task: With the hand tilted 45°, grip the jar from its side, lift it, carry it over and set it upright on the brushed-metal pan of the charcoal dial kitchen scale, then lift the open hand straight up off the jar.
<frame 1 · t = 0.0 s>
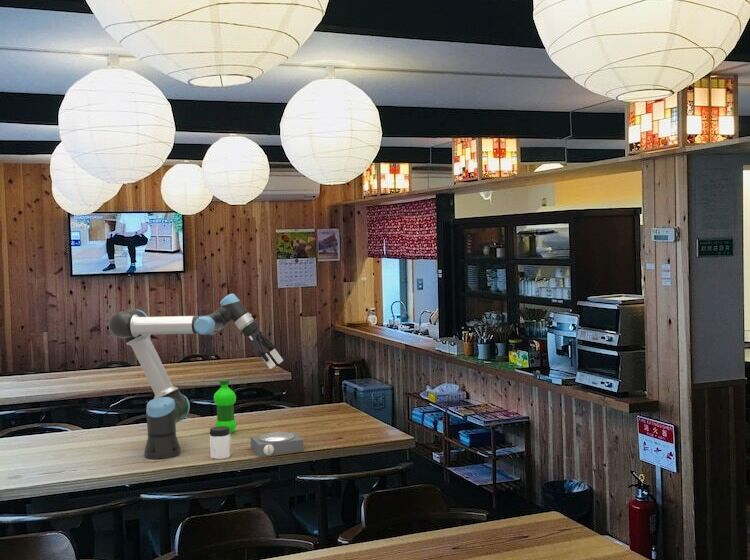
hand: (277, 364, 351), 36 cm above the table, tool tilted 35°, fingers open, 13 cm apart
plastic bottle: (226, 433, 381), on the table
scale pan: (276, 437, 348), on the scale body, point 5 cm above the table
scale body: (277, 449, 348), on the table
jar: (220, 457, 340), on the table
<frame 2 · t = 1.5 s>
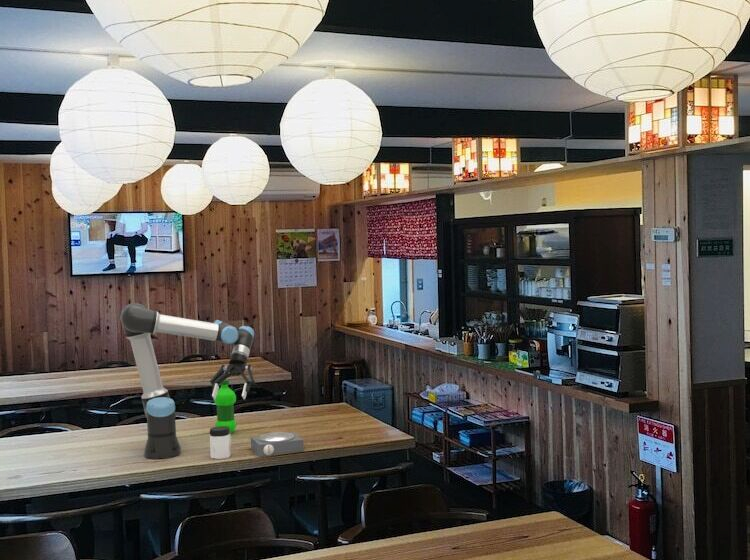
hand: (228, 397, 349), 23 cm above the table, tool tilted 45°, fingers open, 13 cm apart
nothing on the table moved.
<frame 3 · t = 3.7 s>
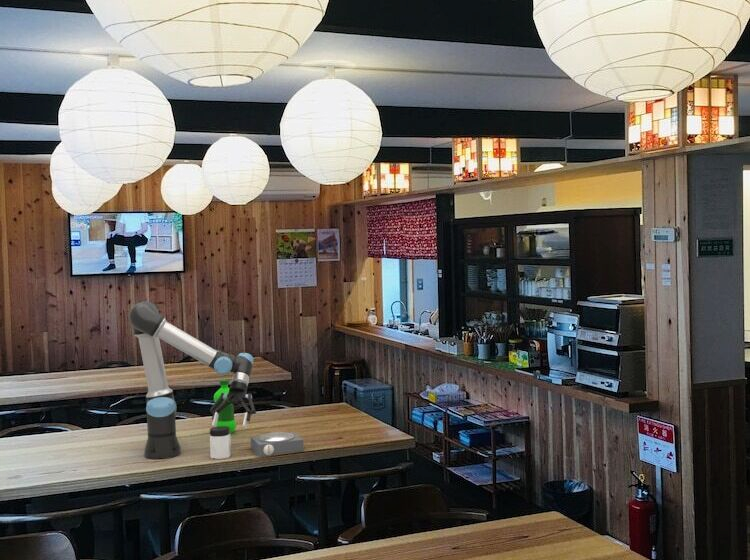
hand: (228, 427, 345), 11 cm above the table, tool tilted 45°, fingers open, 13 cm apart
nothing on the table moved.
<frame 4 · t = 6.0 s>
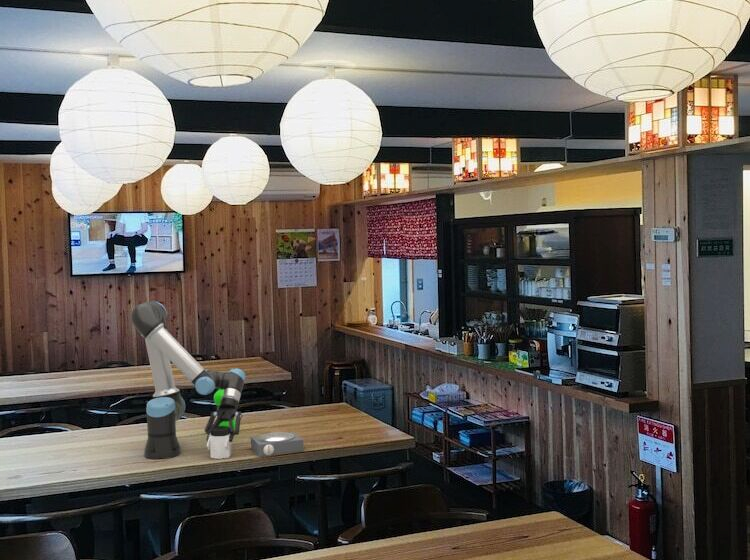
hand: (217, 448, 336), 5 cm above the table, tool tilted 45°, fingers closed on jar, 7 cm apart
jar: (220, 456, 340), on the table, touching gripper
everything else where it was.
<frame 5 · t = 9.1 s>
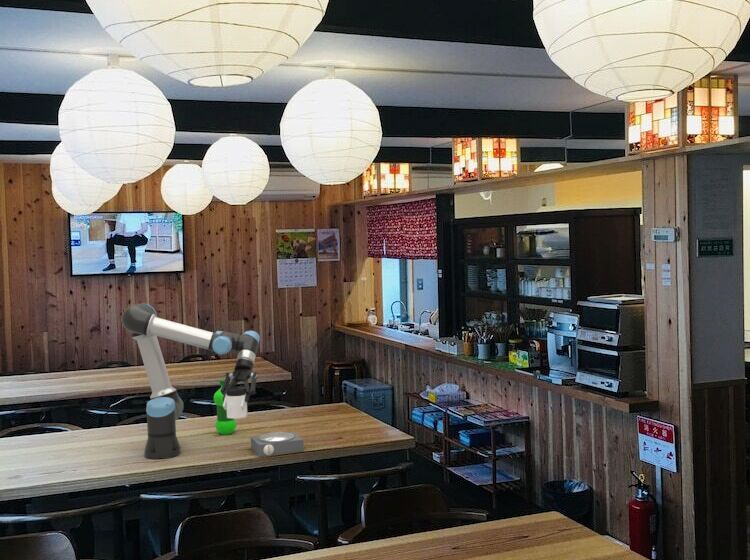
hand: (233, 407, 337), 21 cm above the table, tool tilted 45°, fingers closed on jar, 7 cm apart
jar: (237, 417, 341), point 16 cm above the table, touching gripper
everything else where it was.
when the fingers open (12 cm above the table, at t = 12.3 s): jar drops 1 cm, resting on scale pan.
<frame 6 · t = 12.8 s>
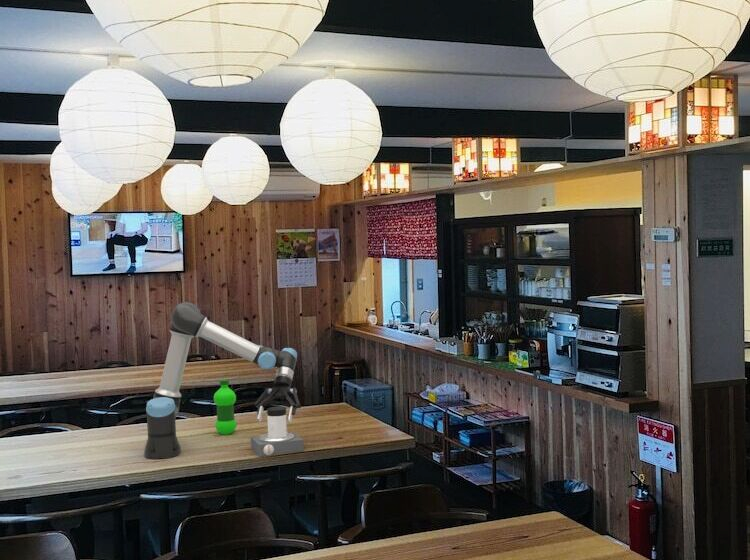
hand: (274, 420, 345), 13 cm above the table, tool tilted 45°, fingers open, 13 cm apart
jar: (277, 436, 348), point 6 cm above the table, touching scale pan
everything else where it was.
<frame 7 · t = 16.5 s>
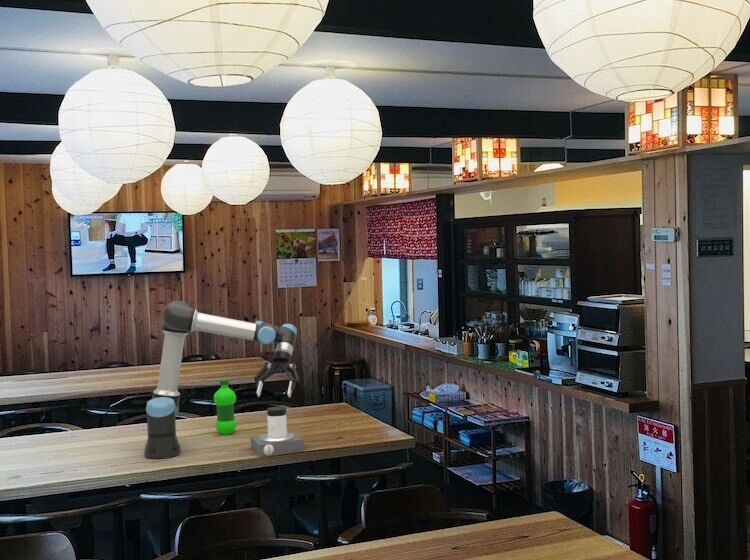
hand: (273, 395, 345), 24 cm above the table, tool tilted 45°, fingers open, 13 cm apart
nothing on the table moved.
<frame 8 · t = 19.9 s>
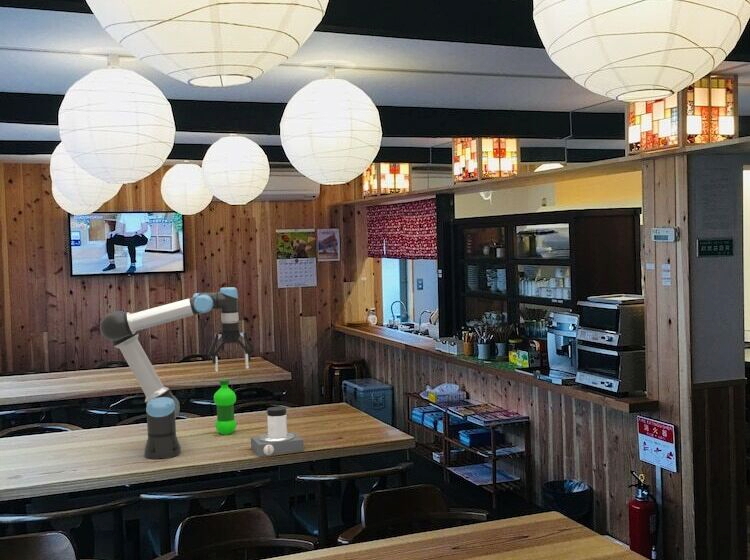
hand: (231, 369, 361), 33 cm above the table, tool pointing down, fingers open, 13 cm apart
nothing on the table moved.
at the end: jar inside the target area on the scale pan (0.5 cm from its centre), point 5.6 cm above the scale pan's base; jar tilted 0°; the gripper is holding nothing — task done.
